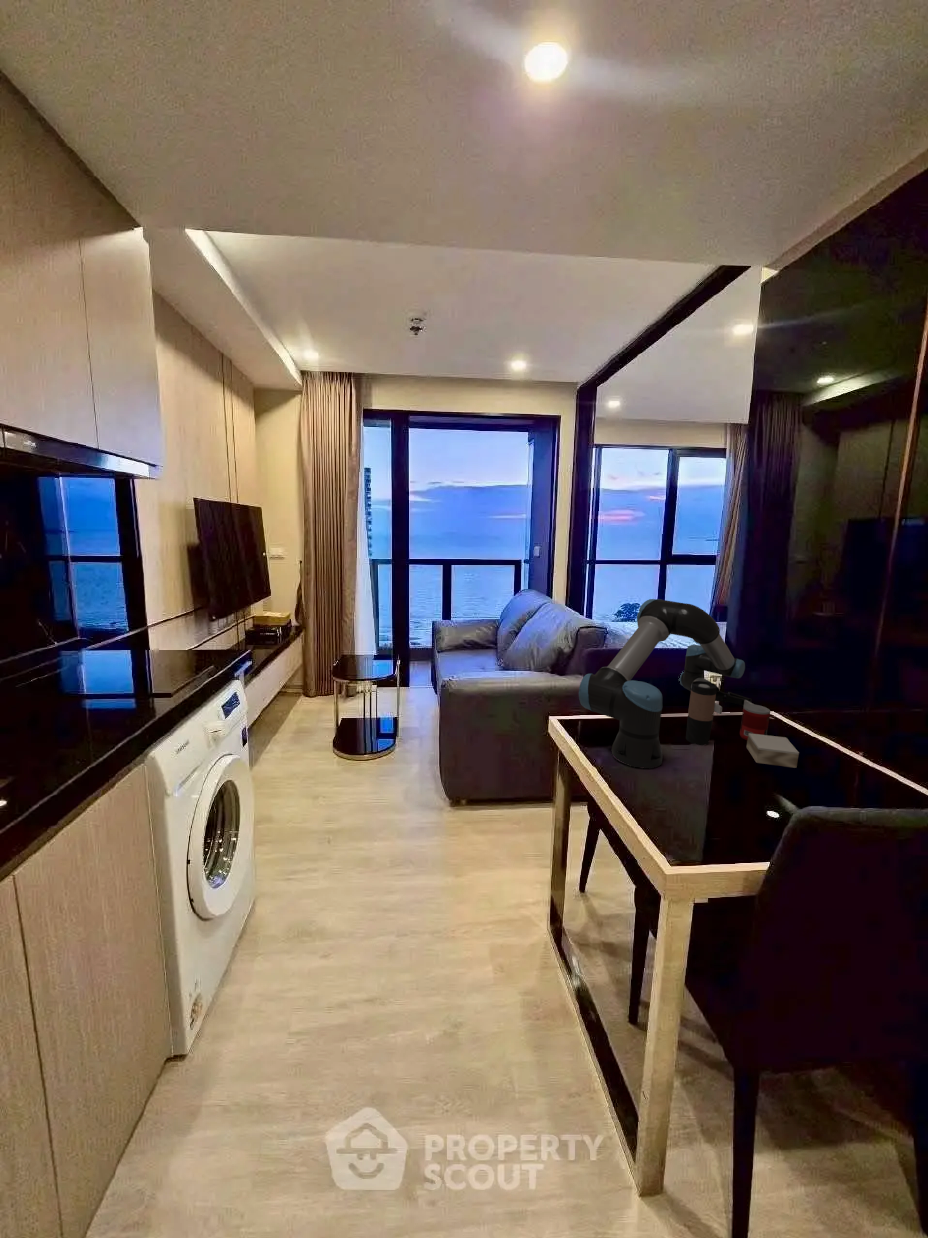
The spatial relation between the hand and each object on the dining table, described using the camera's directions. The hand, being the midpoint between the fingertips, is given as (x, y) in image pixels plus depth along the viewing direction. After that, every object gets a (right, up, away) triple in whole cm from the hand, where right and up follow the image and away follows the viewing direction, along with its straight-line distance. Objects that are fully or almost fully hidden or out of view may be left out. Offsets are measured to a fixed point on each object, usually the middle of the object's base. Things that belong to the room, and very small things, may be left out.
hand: (738, 710), depth 180 cm
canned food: (0, -8, -8) cm, 11 cm away
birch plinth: (-2, -11, -21) cm, 24 cm away
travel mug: (-20, -9, -10) cm, 24 cm away
